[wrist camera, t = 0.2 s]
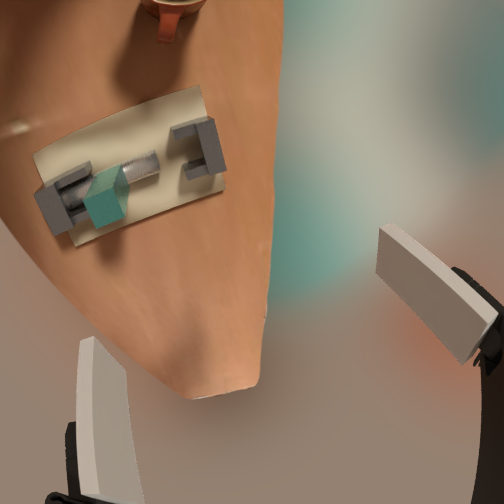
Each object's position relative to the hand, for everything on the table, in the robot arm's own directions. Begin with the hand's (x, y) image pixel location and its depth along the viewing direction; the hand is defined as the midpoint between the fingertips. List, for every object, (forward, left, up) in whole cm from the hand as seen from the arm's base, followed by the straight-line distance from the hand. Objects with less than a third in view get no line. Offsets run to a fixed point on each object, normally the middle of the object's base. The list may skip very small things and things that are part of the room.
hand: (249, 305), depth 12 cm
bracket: (-1, -14, -27) cm, 30 cm away
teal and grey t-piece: (-1, -10, -27) cm, 28 cm away
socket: (-1, +2, -27) cm, 27 cm away
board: (-1, -7, -28) cm, 29 cm away
